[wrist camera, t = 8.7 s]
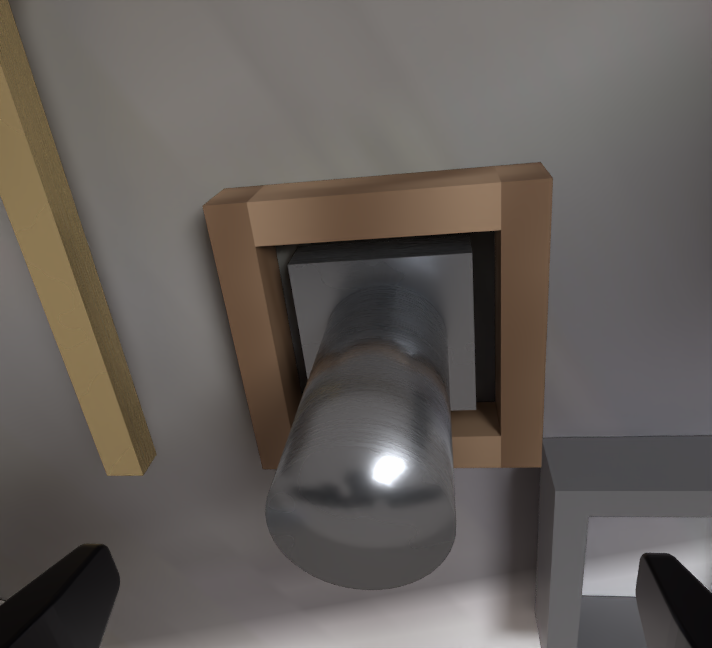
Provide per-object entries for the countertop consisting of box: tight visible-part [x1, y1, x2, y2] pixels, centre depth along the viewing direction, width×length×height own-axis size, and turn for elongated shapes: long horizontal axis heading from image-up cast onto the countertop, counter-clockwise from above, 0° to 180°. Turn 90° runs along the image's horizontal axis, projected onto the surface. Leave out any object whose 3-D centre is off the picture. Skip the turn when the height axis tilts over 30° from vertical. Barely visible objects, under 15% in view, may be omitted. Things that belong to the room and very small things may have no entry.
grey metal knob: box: [266, 235, 476, 590], centre depth 15 cm, size 5×5×8 cm
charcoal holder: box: [535, 436, 712, 648], centre depth 20 cm, size 9×9×2 cm
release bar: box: [0, 0, 157, 476], centre depth 14 cm, size 2×16×4 cm, turn 6°
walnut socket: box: [203, 162, 553, 469], centre depth 17 cm, size 9×9×2 cm
